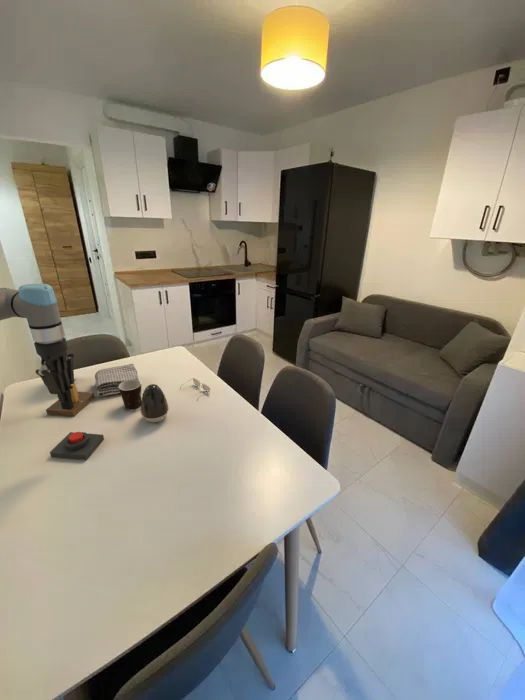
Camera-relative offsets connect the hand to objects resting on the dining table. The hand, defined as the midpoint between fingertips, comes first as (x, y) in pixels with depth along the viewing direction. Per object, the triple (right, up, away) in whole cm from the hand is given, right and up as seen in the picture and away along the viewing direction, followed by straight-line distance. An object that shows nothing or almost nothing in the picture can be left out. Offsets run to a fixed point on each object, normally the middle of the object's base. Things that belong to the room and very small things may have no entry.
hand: (68, 408), depth 92 cm
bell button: (-1, -12, +5) cm, 13 cm away
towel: (-5, +1, +44) cm, 44 cm away
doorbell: (-1, -15, +7) cm, 16 cm away
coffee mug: (+7, -6, +29) cm, 31 cm away
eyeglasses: (+31, -1, +42) cm, 52 cm away
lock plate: (-17, -5, +28) cm, 33 cm away
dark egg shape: (+19, -9, +23) cm, 32 cm away
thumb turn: (-17, -2, +27) cm, 32 cm away
